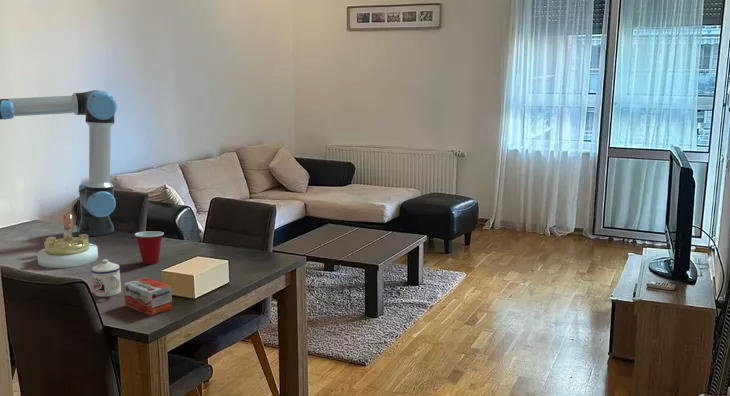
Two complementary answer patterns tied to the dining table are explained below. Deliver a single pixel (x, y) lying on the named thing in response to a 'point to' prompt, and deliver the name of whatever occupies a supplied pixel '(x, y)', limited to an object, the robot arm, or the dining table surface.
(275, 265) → the dining table surface
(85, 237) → the ring nut
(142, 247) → the plastic cup
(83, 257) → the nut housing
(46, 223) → the dining table surface
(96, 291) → the teacup with lid
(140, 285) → the medicine box
